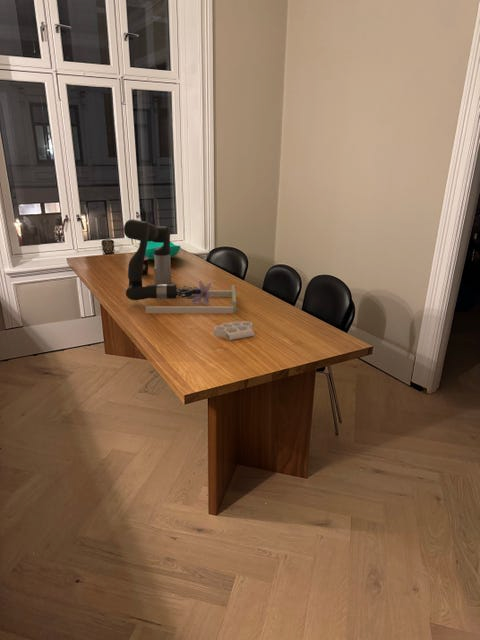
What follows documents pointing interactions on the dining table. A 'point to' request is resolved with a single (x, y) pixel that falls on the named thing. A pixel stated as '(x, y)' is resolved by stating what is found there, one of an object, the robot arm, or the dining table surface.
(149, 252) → the table top decor
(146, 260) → the coffee mug
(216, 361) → the dining table surface
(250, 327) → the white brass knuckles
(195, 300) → the water lily
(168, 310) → the grey u-shaped frame
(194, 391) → the dining table surface
